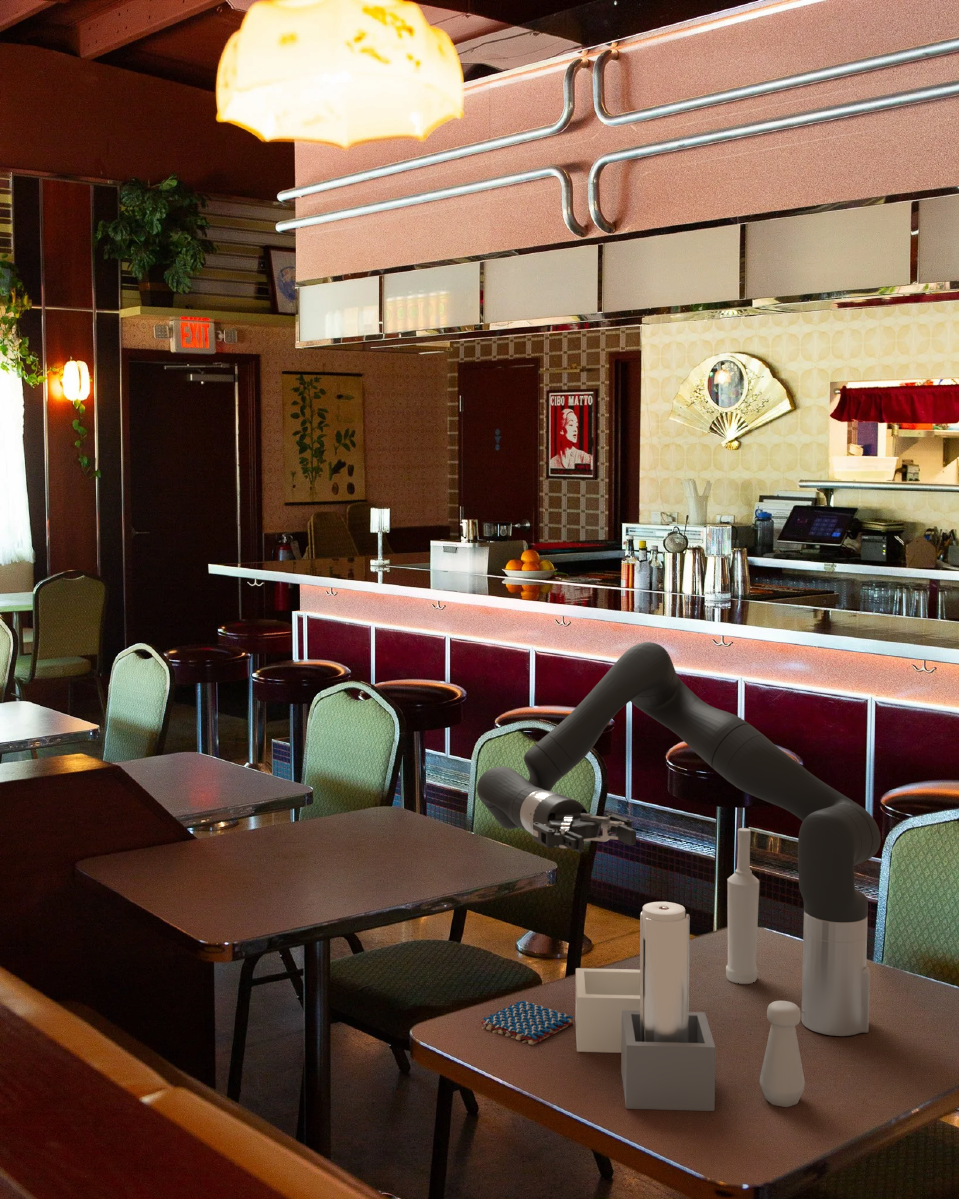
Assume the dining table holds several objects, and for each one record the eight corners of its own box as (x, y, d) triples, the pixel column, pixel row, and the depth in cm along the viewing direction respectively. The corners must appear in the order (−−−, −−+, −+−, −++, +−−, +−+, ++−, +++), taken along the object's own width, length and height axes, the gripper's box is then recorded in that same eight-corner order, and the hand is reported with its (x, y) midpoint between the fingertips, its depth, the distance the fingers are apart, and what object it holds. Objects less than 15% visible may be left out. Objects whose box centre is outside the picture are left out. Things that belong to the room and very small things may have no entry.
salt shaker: (754, 1090, 174) (755, 996, 173) (795, 1088, 175) (797, 994, 174) (767, 1111, 168) (769, 1013, 167) (810, 1109, 169) (812, 1012, 168)
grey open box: (703, 1071, 180) (704, 1012, 179) (714, 1111, 168) (715, 1047, 168) (621, 1069, 180) (621, 1010, 180) (626, 1108, 169) (626, 1045, 168)
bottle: (722, 981, 213) (725, 831, 211) (728, 971, 218) (731, 824, 216) (754, 986, 211) (757, 835, 209) (760, 975, 216) (762, 827, 214)
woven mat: (520, 1009, 203) (520, 997, 203) (575, 1027, 196) (576, 1014, 196) (477, 1030, 195) (477, 1017, 195) (533, 1050, 188) (533, 1036, 188)
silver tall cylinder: (686, 1102, 171) (687, 915, 169) (637, 1097, 172) (637, 912, 170) (689, 1081, 177) (691, 900, 175) (642, 1076, 178) (642, 897, 176)
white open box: (650, 1021, 197) (651, 969, 196) (657, 1053, 186) (657, 999, 185) (575, 1019, 198) (575, 968, 197) (576, 1051, 186) (577, 997, 186)
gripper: (511, 798, 196) (563, 821, 181) (593, 789, 202) (650, 809, 187) (512, 847, 196) (564, 874, 182) (594, 836, 202) (650, 861, 188)
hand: (607, 841), depth 185 cm, fingers open, 8 cm apart
